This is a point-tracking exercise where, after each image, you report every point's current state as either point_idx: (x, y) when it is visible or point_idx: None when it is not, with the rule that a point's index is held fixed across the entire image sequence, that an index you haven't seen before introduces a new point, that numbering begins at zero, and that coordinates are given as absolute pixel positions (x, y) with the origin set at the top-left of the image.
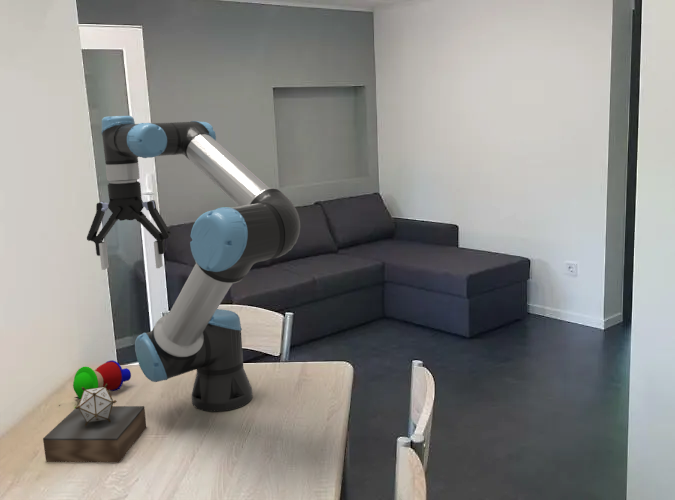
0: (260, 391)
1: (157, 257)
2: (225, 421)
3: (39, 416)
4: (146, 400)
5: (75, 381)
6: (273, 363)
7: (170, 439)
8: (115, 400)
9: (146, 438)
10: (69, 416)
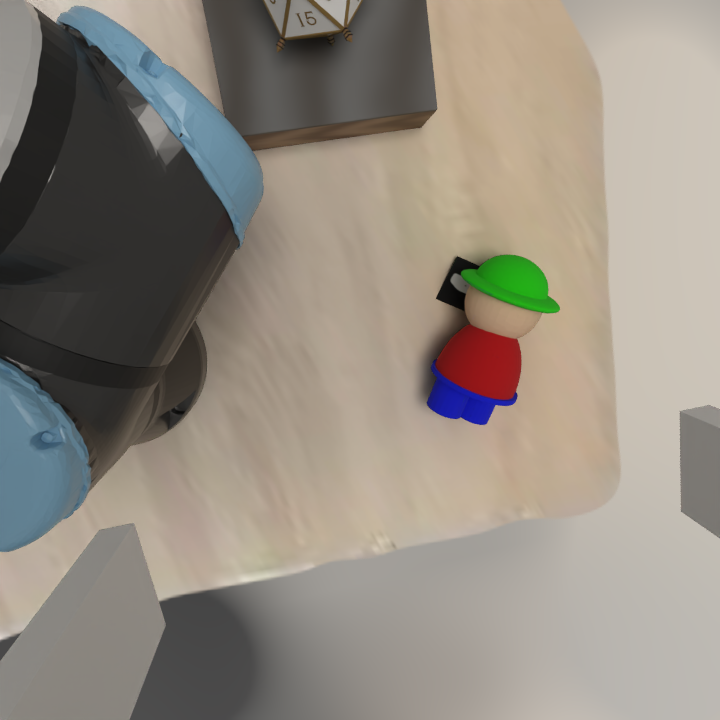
0: None
1: (42, 620)
2: None
3: (567, 180)
4: (334, 319)
5: (534, 265)
6: None
7: None
8: (277, 44)
9: (204, 89)
10: (420, 31)
